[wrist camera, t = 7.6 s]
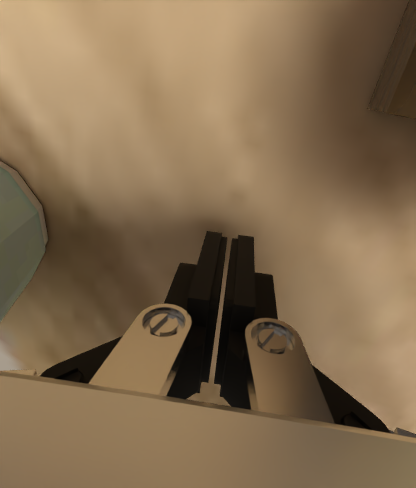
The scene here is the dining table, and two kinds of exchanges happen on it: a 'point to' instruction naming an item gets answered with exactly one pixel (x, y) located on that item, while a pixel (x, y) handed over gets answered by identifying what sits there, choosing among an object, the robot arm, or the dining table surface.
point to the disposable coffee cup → (18, 236)
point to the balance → (399, 71)
